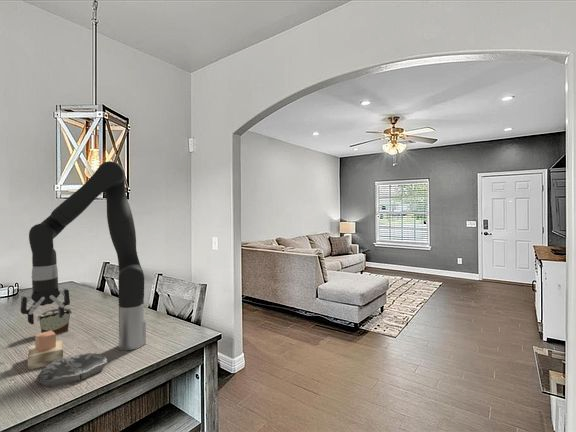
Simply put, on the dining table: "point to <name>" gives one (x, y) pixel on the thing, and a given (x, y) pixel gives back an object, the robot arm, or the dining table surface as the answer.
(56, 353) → the birch block
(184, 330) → the dining table surface
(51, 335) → the terracotta cube
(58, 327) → the food container
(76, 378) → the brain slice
